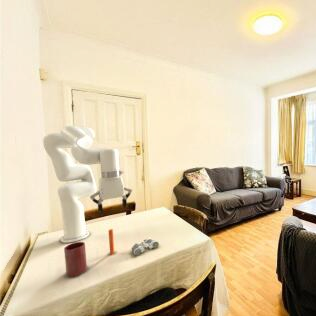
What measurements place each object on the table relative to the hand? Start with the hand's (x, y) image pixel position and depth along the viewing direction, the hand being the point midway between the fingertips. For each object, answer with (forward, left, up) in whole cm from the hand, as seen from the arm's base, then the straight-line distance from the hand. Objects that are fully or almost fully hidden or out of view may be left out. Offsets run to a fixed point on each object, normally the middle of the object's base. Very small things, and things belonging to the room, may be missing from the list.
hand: (113, 209), depth 98 cm
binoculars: (+6, +11, -22) cm, 25 cm away
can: (+6, -16, -22) cm, 27 cm away
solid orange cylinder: (0, -2, -22) cm, 22 cm away
